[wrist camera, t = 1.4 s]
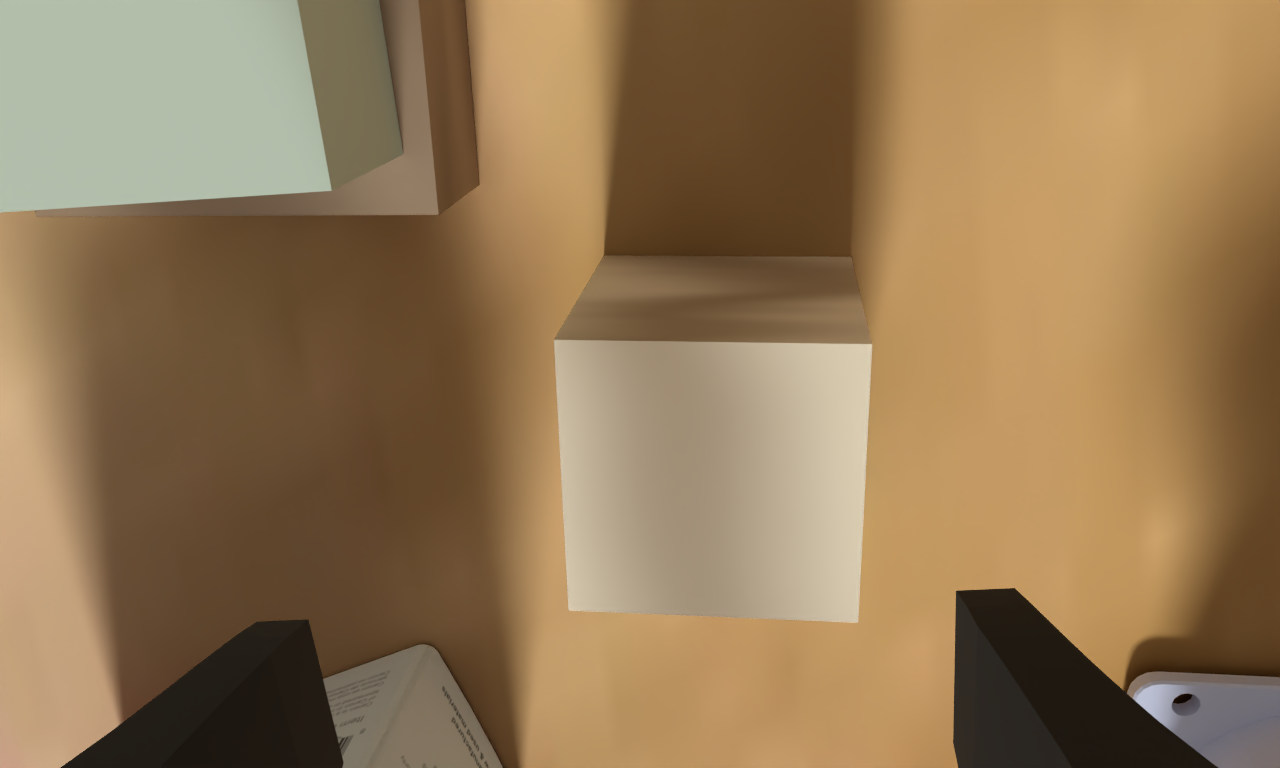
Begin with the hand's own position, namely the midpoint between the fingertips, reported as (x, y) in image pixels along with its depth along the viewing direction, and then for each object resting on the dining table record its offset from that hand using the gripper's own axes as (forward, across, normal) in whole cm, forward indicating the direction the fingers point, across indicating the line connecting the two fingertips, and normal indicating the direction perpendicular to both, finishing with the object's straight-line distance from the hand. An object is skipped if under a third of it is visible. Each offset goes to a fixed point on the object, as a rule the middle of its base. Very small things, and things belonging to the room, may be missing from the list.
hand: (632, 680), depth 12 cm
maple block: (+10, -1, 0) cm, 10 cm away
